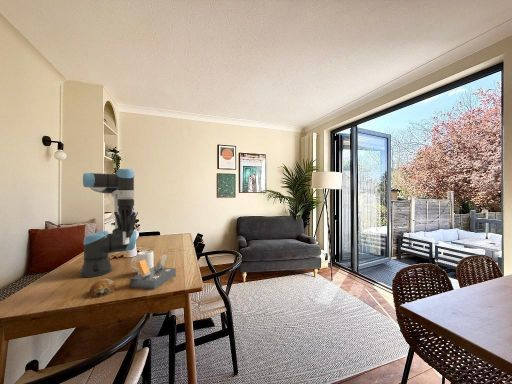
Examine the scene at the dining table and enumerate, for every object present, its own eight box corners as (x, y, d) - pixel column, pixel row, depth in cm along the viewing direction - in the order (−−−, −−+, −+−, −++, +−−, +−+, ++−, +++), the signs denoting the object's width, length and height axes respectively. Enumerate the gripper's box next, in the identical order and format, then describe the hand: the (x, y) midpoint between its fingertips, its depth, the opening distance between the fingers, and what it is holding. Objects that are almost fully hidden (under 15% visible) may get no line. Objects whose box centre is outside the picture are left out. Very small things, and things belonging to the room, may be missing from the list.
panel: (130, 286, 112) (130, 262, 112) (154, 273, 130) (153, 252, 129) (154, 289, 109) (154, 264, 109) (175, 275, 126) (175, 254, 126)
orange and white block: (141, 278, 112) (135, 263, 113) (148, 274, 117) (142, 260, 118) (144, 277, 112) (138, 261, 113) (151, 273, 117) (145, 258, 117)
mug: (131, 277, 123) (131, 256, 123) (130, 273, 130) (130, 252, 130) (154, 273, 130) (154, 252, 129) (152, 269, 137) (152, 249, 137)
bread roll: (117, 296, 109) (121, 279, 113) (105, 296, 100) (109, 277, 103) (96, 297, 109) (101, 279, 112) (82, 297, 100) (87, 277, 103)
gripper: (109, 198, 115) (109, 244, 115) (131, 198, 112) (131, 246, 112) (121, 198, 122) (121, 241, 122) (141, 198, 119) (142, 242, 119)
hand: (126, 243), depth 117 cm, fingers closed
